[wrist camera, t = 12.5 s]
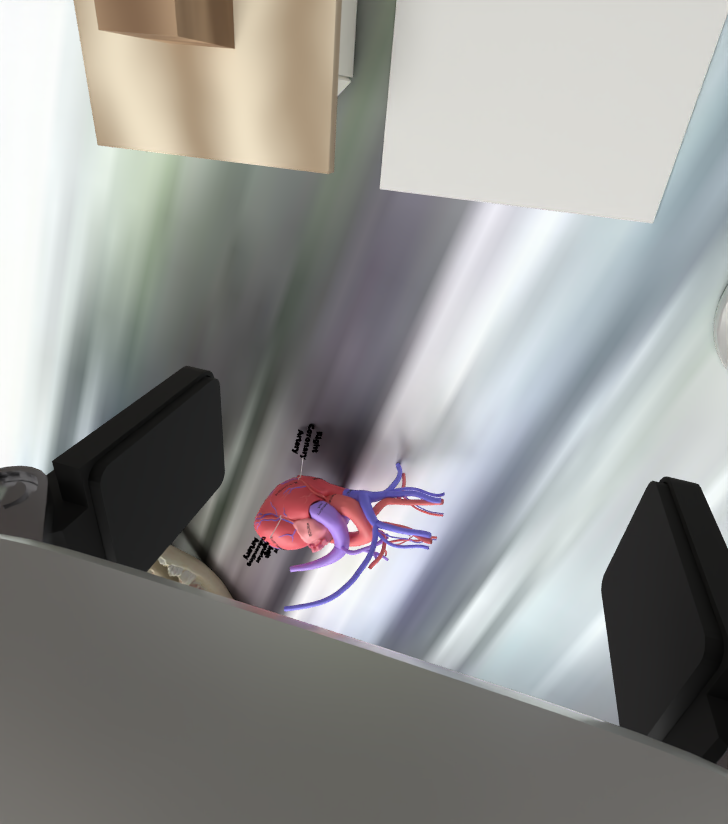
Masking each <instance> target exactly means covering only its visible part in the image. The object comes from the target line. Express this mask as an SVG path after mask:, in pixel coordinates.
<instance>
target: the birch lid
mask: <svg viewBox="0 0 728 824" xmlns="http://www.w3.org/2000/svg"><path fill="white" fill-rule="evenodd" d="M74 6H75V12H76V18H77V24H78V30H79V36H80V42H81V48H82V54H83V60H84V66H85V72H86V78H87V84H88V90H89V96H90V102H91V108H92V114H93V120H94V126H95V132H96V138H97V144H98V145H101V146H109V147H117V148H125V149H133V150H141V151H149V152H157V153H165V154H173V155H181V156H189V157H197V158H205V159H213V160H221V161H229V162H237V163H245V164H253V165H261V166H269V167H277V168H285V169H294V170H302V171H310V172H318V173H326V174H330V173H333V172H334V159H335V138H336V117H337V95H338V74H339V53H340V31H341V10H342V0H74Z"/></svg>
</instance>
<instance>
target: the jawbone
mask: <svg viewBox="0 0 728 824" xmlns="http://www.w3.org/2000/svg"><path fill="white" fill-rule="evenodd" d="M147 573H151V574H154V575H157V576H160V577H163V578H166V579H170V580H173V581H176V582H179V583H182V584H185V585H189V586H192V587H195V588H198V589H201V590H204V591H208V592H211V593H214V594H217V595H220V596H223V597H227V598H230V599H233V598H232V596H231V594H230V593H229V591H228V590H227V588H226V586H225V585H224V583H223V582H222V581H221V580H220V578H219V577H218V576H217V575H216V574H215V573H214V572H213V571H212V570H211V569H210V568H209V567H208V566H206V565H205V564H204V563H203V562H201V561H200V560H198V559H197V558H195V557H193V556H191V555H189V554H187V553H185V552H183V551H181V550H179V549H177V548H176V547H174V546H172V545H169V547H168V548H167V549H166V550H165V551H164V553H163V554H162V555H161V556H160V557H159V558H158V560H157V561H156V562H155V563H154V564H153V565H152V567H151V568H150V569H149V570H148V571H147Z"/></svg>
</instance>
